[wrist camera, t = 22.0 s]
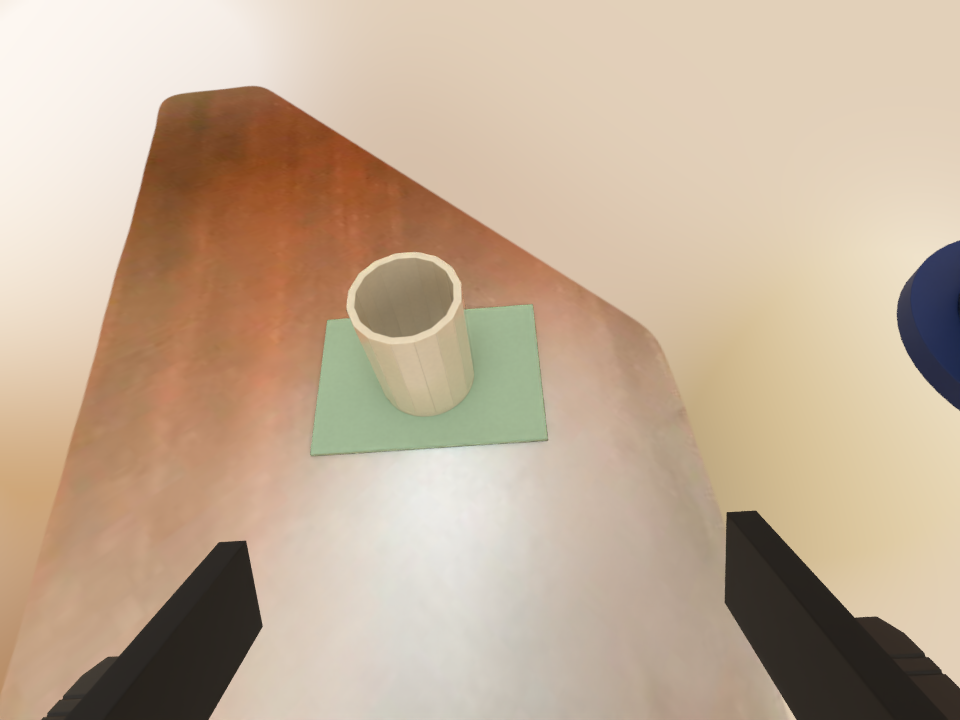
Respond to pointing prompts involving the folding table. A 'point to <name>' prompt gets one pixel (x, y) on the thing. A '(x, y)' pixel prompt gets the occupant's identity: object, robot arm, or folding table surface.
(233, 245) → the folding table surface
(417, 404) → the cup
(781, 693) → the robot arm
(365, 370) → the place mat
